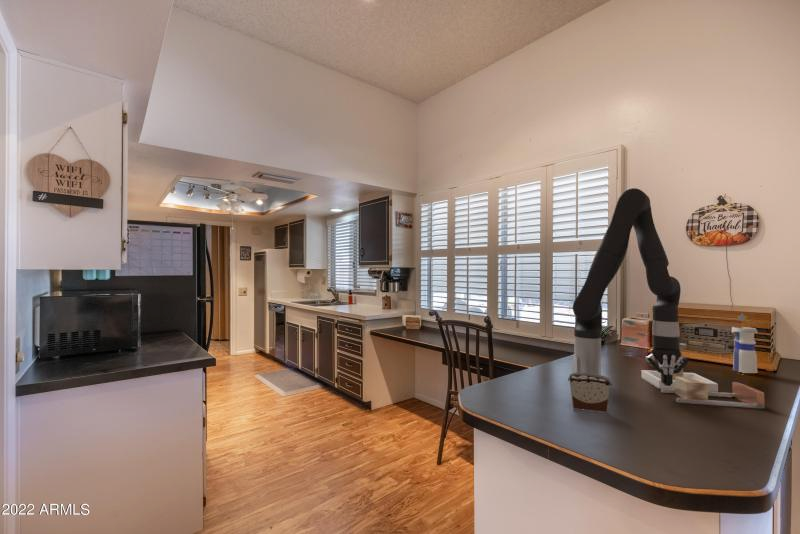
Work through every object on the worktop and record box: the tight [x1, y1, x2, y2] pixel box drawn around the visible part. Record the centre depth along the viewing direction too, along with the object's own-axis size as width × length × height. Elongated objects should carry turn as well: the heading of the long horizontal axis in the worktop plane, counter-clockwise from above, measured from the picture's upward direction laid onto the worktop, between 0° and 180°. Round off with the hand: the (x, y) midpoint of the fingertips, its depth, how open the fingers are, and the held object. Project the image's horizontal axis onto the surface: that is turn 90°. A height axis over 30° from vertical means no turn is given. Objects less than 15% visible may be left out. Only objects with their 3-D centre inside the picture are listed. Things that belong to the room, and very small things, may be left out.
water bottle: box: [731, 313, 759, 373], centre depth 154 cm, size 8×9×25 cm
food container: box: [567, 372, 614, 413], centre depth 112 cm, size 12×6×10 cm, turn 71°
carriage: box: [675, 376, 709, 400], centre depth 121 cm, size 6×7×6 cm
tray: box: [641, 369, 719, 392], centre depth 135 cm, size 18×14×3 cm
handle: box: [673, 342, 688, 380], centre depth 136 cm, size 5×6×15 cm
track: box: [660, 381, 766, 410], centre depth 119 cm, size 24×11×5 cm, turn 78°
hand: (666, 385), depth 122 cm, fingers closed
